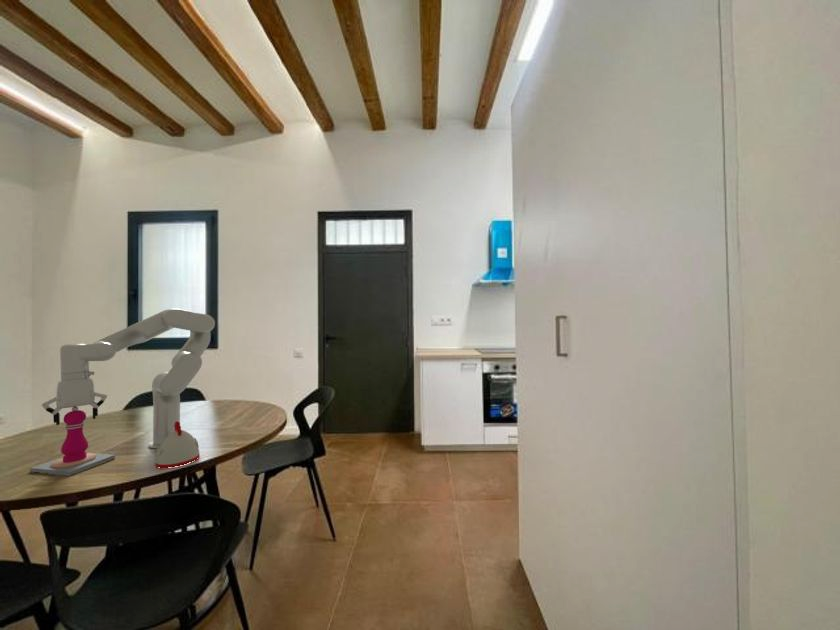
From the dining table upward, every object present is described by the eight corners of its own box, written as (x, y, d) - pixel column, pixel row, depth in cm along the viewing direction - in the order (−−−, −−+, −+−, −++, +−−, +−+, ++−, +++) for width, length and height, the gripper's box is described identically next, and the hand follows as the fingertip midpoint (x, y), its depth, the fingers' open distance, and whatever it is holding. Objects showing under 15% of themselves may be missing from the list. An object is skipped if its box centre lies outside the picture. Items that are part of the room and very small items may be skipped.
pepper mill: (74, 463, 123) (74, 409, 124) (55, 463, 124) (55, 409, 124) (93, 455, 131) (93, 404, 131) (75, 455, 131) (75, 404, 131)
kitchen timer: (194, 451, 140) (194, 415, 140) (203, 460, 130) (203, 422, 130) (152, 461, 130) (152, 422, 130) (158, 472, 120) (158, 430, 120)
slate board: (114, 458, 133) (114, 453, 133) (68, 476, 118) (68, 470, 118) (79, 455, 136) (79, 450, 136) (29, 472, 121) (30, 466, 121)
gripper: (106, 372, 136) (107, 414, 136) (42, 378, 124) (43, 424, 124) (106, 374, 131) (107, 418, 131) (39, 381, 119) (41, 429, 119)
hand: (76, 421), depth 128 cm, fingers open, 9 cm apart
